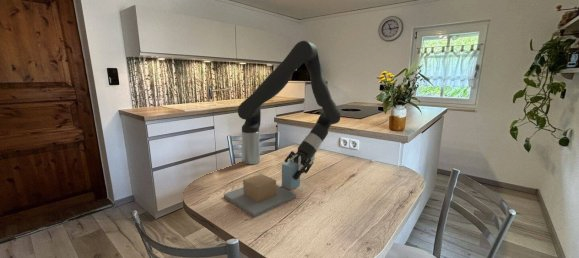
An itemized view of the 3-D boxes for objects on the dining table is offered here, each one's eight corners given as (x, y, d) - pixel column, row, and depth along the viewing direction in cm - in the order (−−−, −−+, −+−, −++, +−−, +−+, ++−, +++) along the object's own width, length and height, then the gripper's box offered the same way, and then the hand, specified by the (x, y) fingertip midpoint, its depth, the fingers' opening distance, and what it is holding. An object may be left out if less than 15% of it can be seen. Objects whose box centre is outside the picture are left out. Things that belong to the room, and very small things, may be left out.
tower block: (281, 185, 109) (281, 163, 107) (290, 182, 113) (291, 160, 111) (290, 189, 105) (290, 167, 103) (299, 185, 109) (300, 163, 107)
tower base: (224, 197, 99) (223, 179, 98) (264, 182, 113) (263, 166, 111) (254, 217, 85) (254, 197, 84) (296, 197, 99) (296, 180, 97)
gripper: (295, 137, 115) (274, 166, 111) (316, 144, 104) (293, 176, 100) (304, 146, 119) (284, 174, 115) (325, 154, 108) (303, 186, 104)
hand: (288, 175), depth 108 cm, fingers open, 8 cm apart
